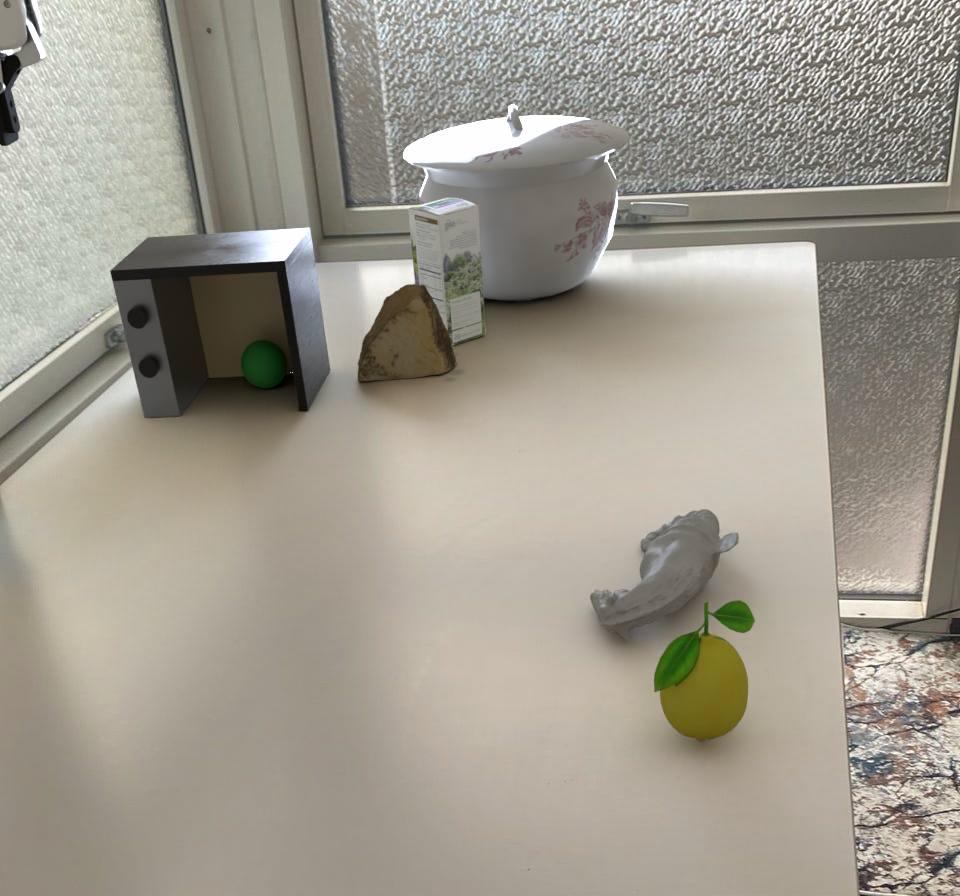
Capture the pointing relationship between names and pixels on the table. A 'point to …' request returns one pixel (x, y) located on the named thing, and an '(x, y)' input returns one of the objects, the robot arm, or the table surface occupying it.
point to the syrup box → (450, 263)
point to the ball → (264, 364)
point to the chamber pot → (529, 196)
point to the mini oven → (219, 311)
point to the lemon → (705, 677)
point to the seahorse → (666, 572)
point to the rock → (406, 339)
